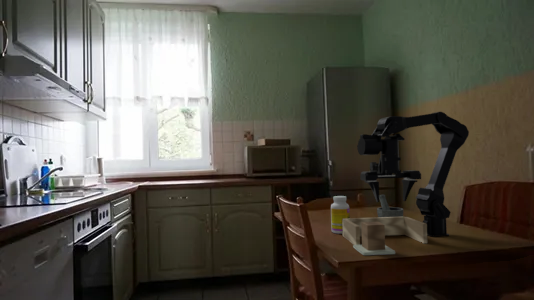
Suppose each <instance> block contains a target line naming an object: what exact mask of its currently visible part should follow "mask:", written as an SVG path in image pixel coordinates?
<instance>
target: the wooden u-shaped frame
mask: <svg viewBox="0 0 534 300" xmlns="http://www.w3.org/2000/svg"><path fill="white" fill-rule="evenodd" d="M361 222H380V223H382V224H384V226H385V236H401V235H405V236H407V237H409V238H411V239H413V240H415V241H418V242H419V243H421V242H422V244H428V235H427V224H426V223H423V221H420V220H417V219H414V218H412V217H409V216H406V215H405V216H404V215H403V217H378V216H377V217H357V218H356V217H354V218H352V217H350V219H342V225H343V234H342V237H344V239H346V240H347V241H349V242H350V243H351V244H352V245H361V237H362V228H361Z"/></svg>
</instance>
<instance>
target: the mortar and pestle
mask: <svg viewBox="0 0 534 300" xmlns="http://www.w3.org/2000/svg"><path fill="white" fill-rule="evenodd" d="M379 202H380V205H381V207H377V208H376V213H377V217H404V208H402V207H395V206H394V207H393V206H389V203H388V202H387V199H386V194H379Z"/></svg>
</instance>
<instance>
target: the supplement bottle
mask: <svg viewBox="0 0 534 300" xmlns="http://www.w3.org/2000/svg"><path fill="white" fill-rule="evenodd" d="M332 198H333V203H331V204H330V222H331V224H330V226H331V227H330V229H331V230H330V231H331V232H332V233H333V234H338V235H341V234H342V235H343V225H342V219H350V218H351V215H350V205H349V203H347V196H346V195H345V196H344V195H337V196H336V195H335V196H333V197H332Z"/></svg>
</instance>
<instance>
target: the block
mask: <svg viewBox="0 0 534 300" xmlns="http://www.w3.org/2000/svg"><path fill="white" fill-rule="evenodd" d="M361 228H362V236H361V245H362V247H364V248H365V249H367V250H385V245H386V235H385V226H384V224H382V223H380V222H361Z"/></svg>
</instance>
